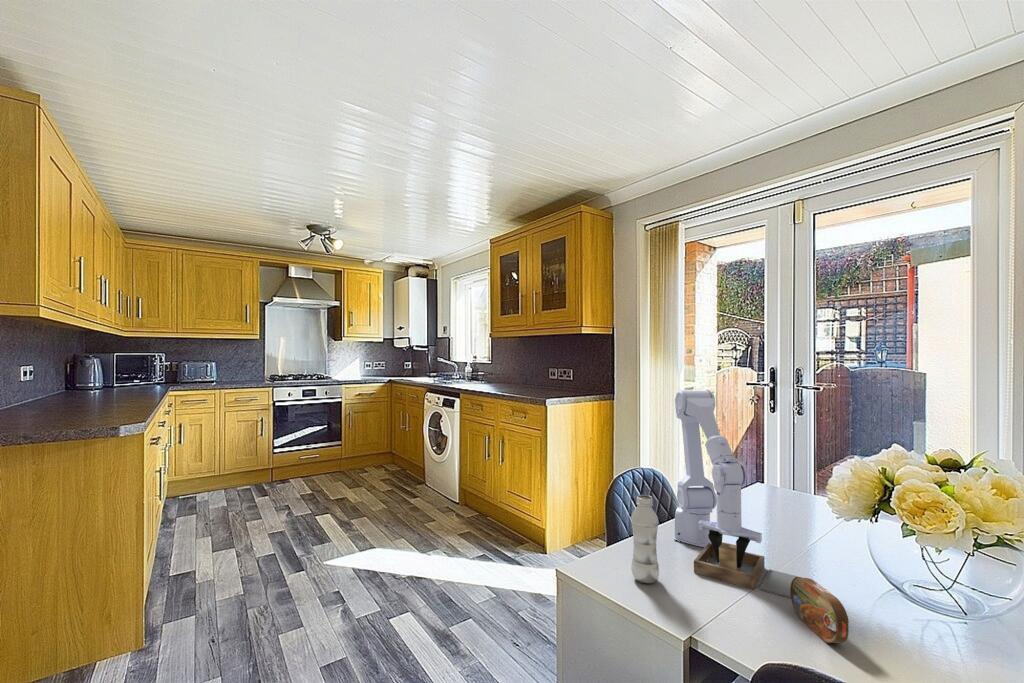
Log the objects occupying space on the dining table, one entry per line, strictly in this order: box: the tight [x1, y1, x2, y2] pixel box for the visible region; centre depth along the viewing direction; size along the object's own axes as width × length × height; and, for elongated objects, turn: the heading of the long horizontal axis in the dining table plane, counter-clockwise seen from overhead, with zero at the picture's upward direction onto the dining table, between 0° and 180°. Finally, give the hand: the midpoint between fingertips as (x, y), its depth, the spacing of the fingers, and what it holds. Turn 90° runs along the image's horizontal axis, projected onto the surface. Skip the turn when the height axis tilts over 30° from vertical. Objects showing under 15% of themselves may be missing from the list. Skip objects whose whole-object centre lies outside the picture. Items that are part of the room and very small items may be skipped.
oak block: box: [718, 541, 741, 572], centre depth 117 cm, size 4×4×6 cm
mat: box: [760, 569, 803, 599], centre depth 110 cm, size 8×12×1 cm, turn 142°
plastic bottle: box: [630, 494, 660, 584], centre depth 112 cm, size 6×7×20 cm
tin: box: [790, 576, 850, 644], centre depth 92 cm, size 15×3×8 cm, turn 178°
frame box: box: [693, 543, 766, 591], centre depth 117 cm, size 14×14×3 cm
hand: (729, 564), depth 117 cm, fingers closed on oak block, 4 cm apart
